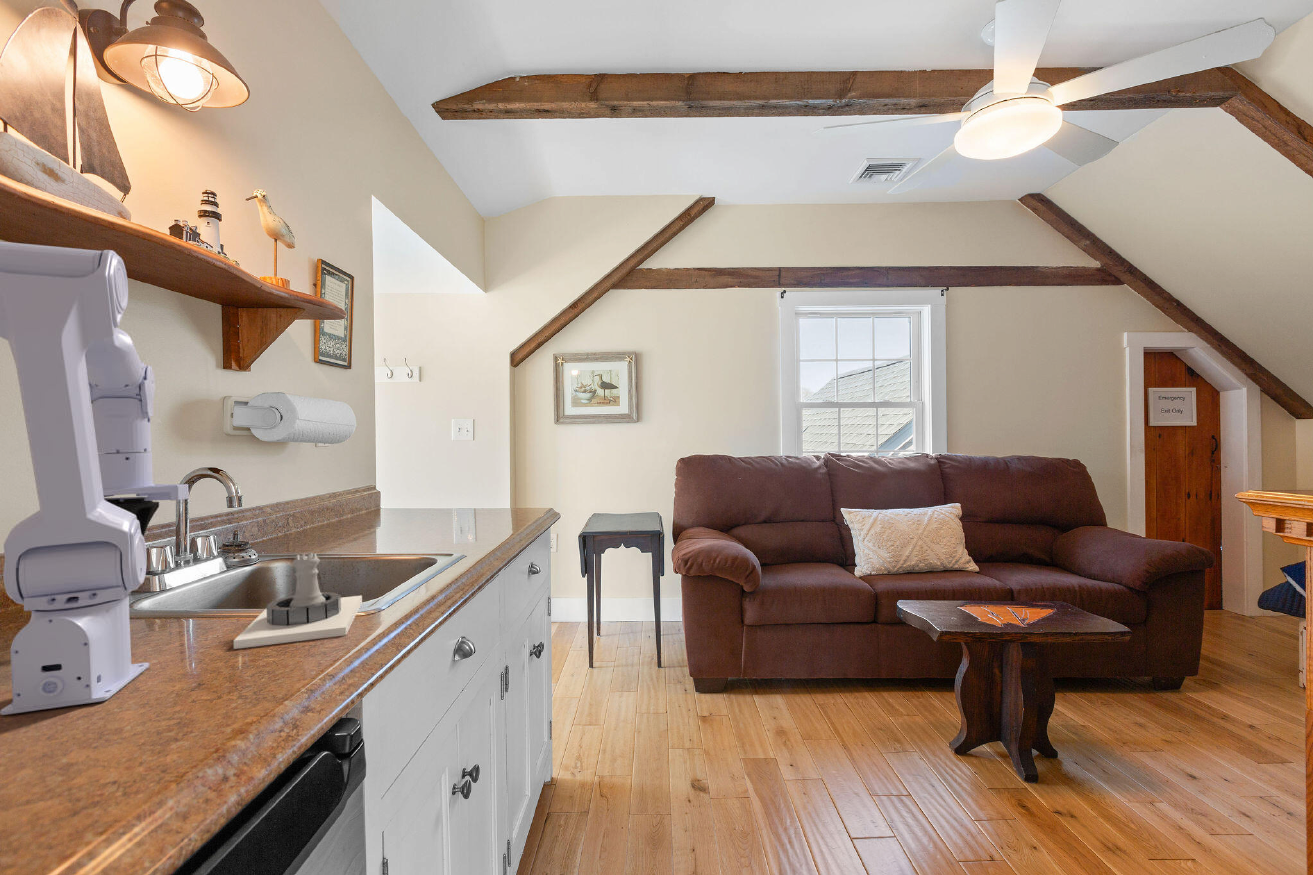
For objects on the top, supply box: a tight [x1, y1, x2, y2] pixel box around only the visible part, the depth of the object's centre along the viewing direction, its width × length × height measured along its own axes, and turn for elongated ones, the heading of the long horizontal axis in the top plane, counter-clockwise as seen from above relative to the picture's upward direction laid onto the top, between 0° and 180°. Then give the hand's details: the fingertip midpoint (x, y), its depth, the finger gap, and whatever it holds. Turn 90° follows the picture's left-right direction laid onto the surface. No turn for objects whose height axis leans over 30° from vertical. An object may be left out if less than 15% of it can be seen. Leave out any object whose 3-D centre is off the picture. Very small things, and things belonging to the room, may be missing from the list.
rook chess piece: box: [290, 552, 326, 608], centre depth 83 cm, size 4×4×8 cm
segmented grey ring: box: [265, 591, 342, 626], centre depth 82 cm, size 8×8×2 cm
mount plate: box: [233, 595, 363, 650], centre depth 82 cm, size 16×12×1 cm
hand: (127, 557), depth 80 cm, fingers closed
